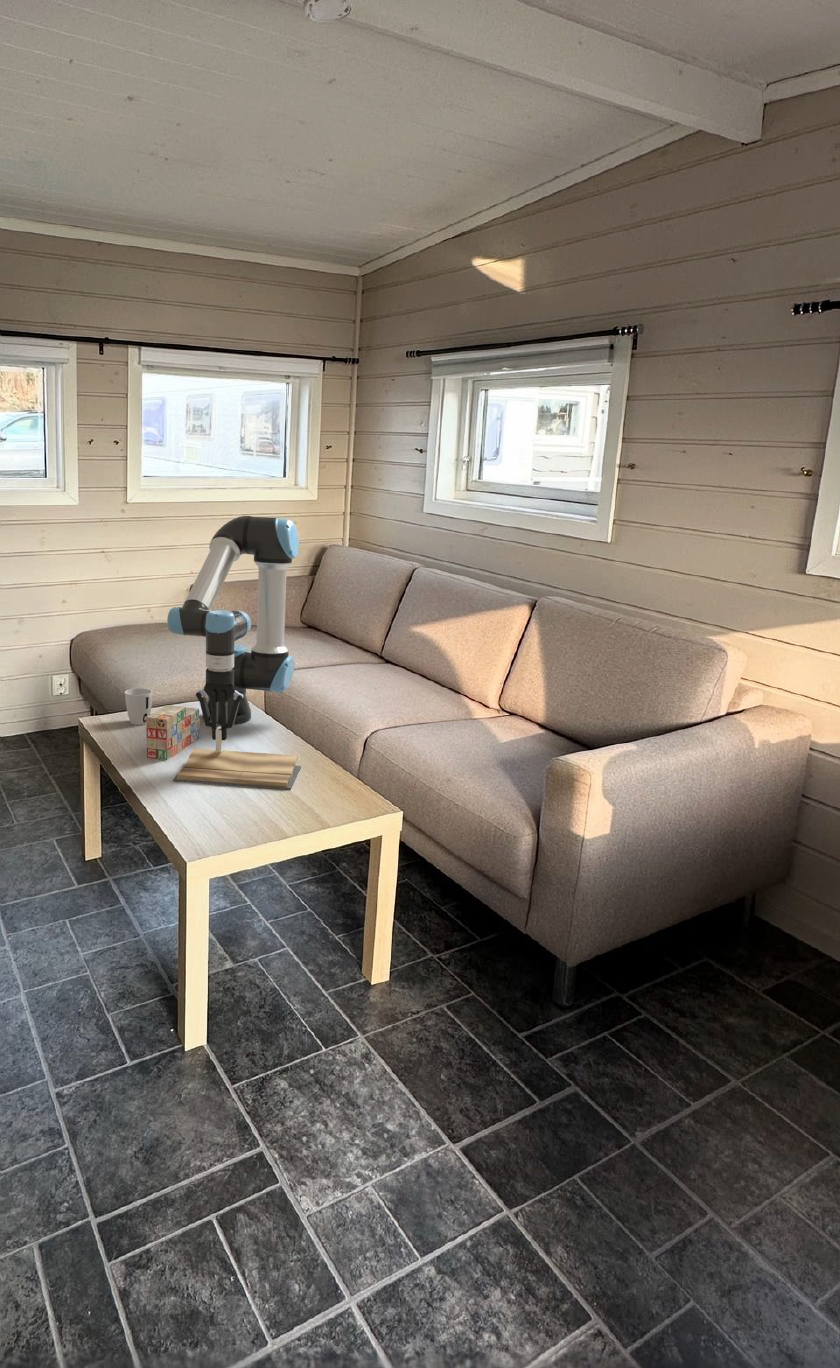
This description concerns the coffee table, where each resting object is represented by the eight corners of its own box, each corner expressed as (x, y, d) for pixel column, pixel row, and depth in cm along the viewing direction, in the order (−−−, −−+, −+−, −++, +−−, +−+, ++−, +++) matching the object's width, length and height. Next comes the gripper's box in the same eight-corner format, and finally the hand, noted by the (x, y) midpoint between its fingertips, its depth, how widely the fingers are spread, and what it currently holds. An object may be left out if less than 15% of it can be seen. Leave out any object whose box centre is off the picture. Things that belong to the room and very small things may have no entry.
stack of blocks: (180, 735, 274) (180, 696, 271) (200, 738, 273) (200, 698, 270) (146, 758, 253) (145, 716, 250) (167, 761, 252) (167, 718, 249)
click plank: (193, 752, 253) (193, 748, 253) (297, 759, 252) (297, 755, 252) (183, 770, 244) (183, 766, 244) (291, 778, 243) (291, 774, 243)
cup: (148, 727, 279) (147, 696, 277) (121, 725, 279) (121, 694, 277) (156, 719, 287) (155, 689, 284) (130, 717, 287) (129, 687, 284)
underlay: (190, 759, 254) (190, 758, 254) (301, 767, 253) (301, 765, 253) (172, 781, 238) (172, 779, 237) (290, 789, 237) (290, 788, 237)
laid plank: (183, 771, 243) (182, 767, 243) (290, 779, 243) (290, 775, 242) (176, 779, 238) (176, 774, 238) (287, 787, 237) (287, 782, 237)
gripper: (192, 670, 241) (192, 753, 248) (240, 673, 241) (239, 757, 248) (199, 663, 249) (199, 744, 255) (247, 666, 249) (245, 748, 255)
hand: (219, 750), depth 251 cm, fingers closed
